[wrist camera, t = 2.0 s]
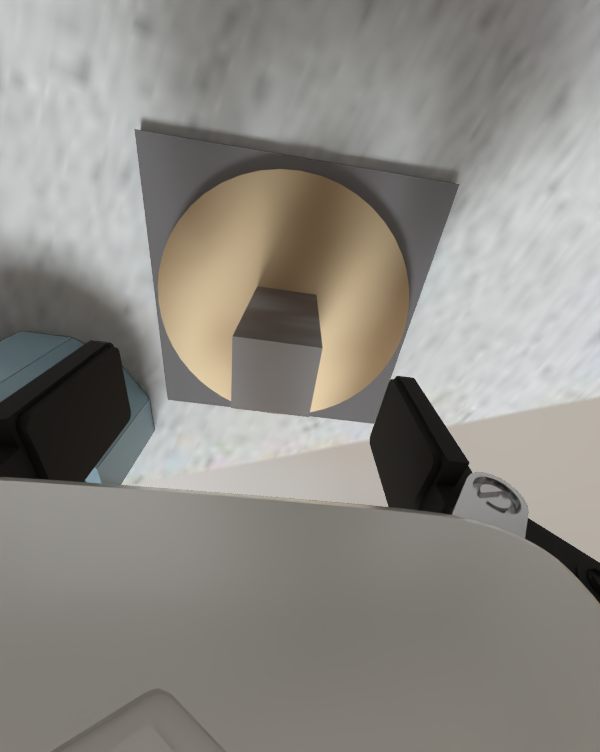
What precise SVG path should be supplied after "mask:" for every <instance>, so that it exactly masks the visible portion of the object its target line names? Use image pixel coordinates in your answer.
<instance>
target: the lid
mask: <svg viewBox="0 0 600 752" xmlns="http://www.w3.org/2000/svg"><path fill="white" fill-rule="evenodd" d="M158 302H159V307H160V312H161V318H162V321H163V324H164V327H165V330H166V333H167V335H168V337H169V339H170V341H171V344H172V346H173V347H174V349H175V351H176V352H177V354H178V356H179V357H180V359H181V360H182V361H183V363H184V364H185V365H186V366H187V368H188V369H189V370H190V371H191V372H192V373H193V374H194V375H195V376H196V377H197V378H198V379H199V380H200V381H201V382H202V383H204V384H205V385H206V386H207V387H208V388H210V389H211V390H213V391H214V392H216V393H217V394H219V395H220V396H222V397H224V398H226V399H228V400H230V401H231V408H236V409H245V410H253V411H261V412H267V413H273V414H288V415H297V416H305V417H309V414H310V412H314V411H318V410H322V409H326V408H328V407H331V406H334V405H337V404H339V403H341V402H343V401H345V400H347V399H349V398H351V397H352V396H354V395H355V394H357V393H358V392H360V391H361V390H363V389H364V388H365V387H366V386H367V385H369V384H370V383H371V382H372V381H373V380H374V379H375V378H376V377H377V376H378V375H379V374H380V373H381V372H382V370H383V369H384V368H385V366H386V365H387V364H388V363H389V361H390V360H391V358H392V356H393V354H394V353H395V351H396V349H397V347H398V345H399V342H400V340H401V338H402V335H403V332H404V329H405V325H406V321H407V316H408V308H409V283H408V276H407V270H406V266H405V263H404V259H403V256H402V253H401V251H400V249H399V246H398V244H397V242H396V240H395V237H394V236H393V234H392V233H391V231H390V230H389V228H388V226H387V225H386V223H385V222H384V221H383V219H382V218H381V217H380V216H379V215H378V214H377V213H376V211H375V210H374V209H373V208H372V207H371V206H370V205H369V204H368V203H366V202H365V201H364V200H363V199H362V198H361V197H359V196H358V195H357V194H355V193H354V192H352V191H351V190H349V189H347V188H346V187H344V186H343V185H341V184H339V183H337V182H334V181H332V180H330V179H327V178H325V177H323V176H320V175H316V174H312V173H308V172H304V171H298V170H287V169H273V170H260V171H255V172H251V173H247V174H243V175H239V176H237V177H234V178H232V179H230V180H227V181H225V182H222V183H221V184H219V185H217V186H216V187H214V188H213V189H211V190H209V191H208V192H206V193H205V194H204V195H202V196H201V197H200V198H199V199H198V200H197V201H196V202H194V203H193V204H192V205H191V206H190V207H189V208H188V210H187V211H186V212H185V213H184V215H183V216H182V217H181V218H180V219H179V221H178V222H177V224H176V226H175V227H174V229H173V231H172V233H171V234H170V236H169V239H168V241H167V244H166V246H165V249H164V251H163V255H162V259H161V263H160V267H159V276H158Z"/></svg>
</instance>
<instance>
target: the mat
mask: <svg viewBox="0 0 600 752" xmlns="http://www.w3.org/2000/svg"><path fill="white" fill-rule="evenodd" d="M135 136H136V144H137V152H138V161H139V169H140V177H141V185H142V193H143V201H144V209H145V217H146V225H147V234H148V242H149V250H150V258H151V266H152V274H153V282H154V290H155V298H156V307H157V315H158V323H159V331H160V339H161V347H162V355H163V363H164V371H165V380H166V388H167V396H168V400H175V401H184V402H193V403H201V404H210V405H218V406H227V407H231V401H230V400H228V399H226V398H224V397H222V396H220V395H219V394H217V393H216V392H214V391H213V390H211V389H210V388H208V387H207V386H206V385H205V384H204V383H202V382H201V381H200V380H199V379H198V378H197V377H196V376H195V375H194V374H193V373H192V372H191V371H190V370H189V369H188V368H187V366H186V365H185V364H184V363H183V361H182V360H181V359H180V357H179V356H178V354H177V352H176V351H175V349H174V347H173V346H172V344H171V341H170V339H169V337H168V335H167V333H166V330H165V327H164V324H163V321H162V318H161V312H160V307H159V302H158V276H159V267H160V263H161V259H162V255H163V251H164V249H165V246H166V244H167V241H168V239H169V236H170V234H171V233H172V231H173V229H174V227H175V226H176V224H177V222H178V221H179V219H180V218H181V217H182V216H183V215H184V213H185V212H186V211H187V210H188V208H189V207H190V206H191V205H192V204H193V203H194V202H196V201H197V200H198V199H199V198H200V197H201V196H202V195H204V194H205V193H206V192H208V191H209V190H211V189H213V188H214V187H216V186H217V185H219V184H221V183H222V182H225V181H227V180H230V179H232V178H234V177H237V176H239V175H243V174H247V173H251V172H255V171H260V170H273V169H287V170H298V171H304V172H308V173H312V174H316V175H320V176H323V177H325V178H327V179H330V180H332V181H334V182H337V183H339V184H341V185H343V186H344V187H346V188H347V189H349V190H351V191H352V192H354V193H355V194H357V195H358V196H359V197H361V198H362V199H363V200H364V201H365V202H366V203H368V204H369V205H370V206H371V207H372V208H373V209H374V210H375V211H376V213H377V214H378V215H379V216H380V217H381V218H382V219H383V221H384V222H385V223H386V225H387V226H388V228H389V230H390V231H391V233H392V234H393V236H394V237H395V240H396V242H397V244H398V246H399V249H400V251H401V253H402V256H403V259H404V263H405V266H406V270H407V276H408V283H409V308H408V316H407V321H406V325H405V329H404V332H403V335H402V338H401V340H400V342H399V345H398V347H397V349H396V351H395V353H394V354H393V356H392V358H391V360H390V361H389V363H388V364H387V365H386V366H385V368H384V369H383V370H382V372H381V373H380V374H379V375H378V376H377V377H376V378H375V379H374V380H373V381H372V382H371V383H370V384H369V385H367V386H366V387H365V388H364V389H363V390H361V391H360V392H358V393H357V394H355V395H354V396H352V397H351V398H349V399H347V400H345V401H343V402H341V403H339V404H337V405H334V406H331V407H328V408H326V409H322V410H318V411H314V412H310V414H309V416H313V417H322V418H330V419H339V420H348V421H356V422H365V423H373V424H374V423H375V420H376V417H377V415H378V412H379V409H380V406H381V403H382V401H383V398H384V395H385V392H386V389H387V386H388V383H389V381H390V378H391V375H392V372H393V370H394V367H395V364H396V361H397V358H398V356H399V353H400V350H401V347H402V344H403V342H404V339H405V336H406V333H407V330H408V327H409V325H410V322H411V319H412V316H413V313H414V311H415V308H416V305H417V302H418V299H419V297H420V294H421V291H422V288H423V285H424V282H425V280H426V277H427V274H428V271H429V268H430V266H431V263H432V260H433V257H434V254H435V252H436V249H437V246H438V243H439V240H440V237H441V235H442V232H443V229H444V226H445V223H446V221H447V218H448V215H449V212H450V209H451V207H452V204H453V201H454V198H455V195H456V192H457V190H458V187H459V184H455V183H449V182H443V181H437V180H431V179H425V178H419V177H414V176H408V175H402V174H396V173H390V172H384V171H378V170H372V169H366V168H360V167H354V166H349V165H343V164H337V163H331V162H325V161H319V160H313V159H307V158H301V157H295V156H289V155H284V154H278V153H272V152H266V151H260V150H254V149H248V148H242V147H236V146H230V145H225V144H219V143H213V142H207V141H201V140H195V139H189V138H183V137H177V136H171V135H165V134H160V133H154V132H148V131H142V130H136V129H135Z"/></svg>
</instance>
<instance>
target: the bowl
mask: <svg viewBox="0 0 600 752" xmlns="http://www.w3.org/2000/svg"><path fill="white" fill-rule="evenodd" d="M83 345H84V344H83V343H81V342H79V341H78V340H76V339H74V338H72V337H64V336H56V335H48V334H40V333H32V332H24V331H20V332H18V333H16V334H14V335H12V336H9V337H7V338H5V339H3V340H1V341H0V402H1V401H3V400H4V399H6V398H7V397H9V396H10V395H12V394H13V393H14V392H16V391H17V390H19V389H20V388H22V387H23V386H25V385H26V384H28V383H29V382H30V381H32V380H33V379H35V378H36V377H38V376H39V375H41V374H42V373H44V372H45V371H46V370H48V369H49V368H51V367H52V366H54V365H55V364H57V363H58V362H60V361H61V360H62V359H64V358H65V357H67V356H68V355H70V354H71V353H73V352H74V351H76V350H77V349H78V348H80V347H81V346H83ZM122 368H123V367H122ZM123 373H124V378H125V383H126V389H127V394H128V399H129V404H130V409H131V417H130V420H129V422H128V424H127V425H126V426H125V428H124V429H123V430H122V432H121V433H120V434H119V436H118V437H117V438H116V440H115V441H114V442H113V444H112V445H111V446H110V447H109V449H108V450H107V451H106V453H105V454H104V455H103V457H102V458H101V459H100V461H99V462H98V463H97V465H96V466H95V467H94V469H93V470H92V471H91V473H90V474H89V475H88V477H87V478H86V479H85V481H84V482H87V483H101V484H114V485H121V483H122V482H123V480H124V479H125V477H126V475H127V474H128V472H129V471H130V469H131V468H132V466H133V464H134V463H135V461H136V460H137V458H138V456H139V455H140V453H141V452H142V450H143V448H144V447H145V445H146V444H147V442H148V440H149V439H150V437H151V436H152V434H153V432H154V425H153V419H152V413H151V406H150V400H149V398H148V397H147V396H146V394H145V393H144V392H143V391H142V390H141V388H140V387H139V386H138V385H137V383H136V382H135V381H134V380H133V379H132V377H131V376H130V375H129V374H128V373H127V371H126V370H125V369H124V368H123Z"/></svg>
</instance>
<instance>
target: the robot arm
mask: <svg viewBox="0 0 600 752" xmlns="http://www.w3.org/2000/svg"><path fill="white" fill-rule="evenodd" d="M130 417H131V409H130V404H129V399H128V394H127V389H126V383H125V378H124V373H123V368H122V363H121V358H120V353H119V350H118V349H117V348H115V347H114V346H113V344H111V343H109V342H100V341H89V342H87V343H86V344H84V345H83V346H81V347H80V348H78V349H77V350H76V351H74V352H73V353H71V354H70V355H68V356H67V357H65V358H64V359H62V360H61V361H60V362H58V363H57V364H55V365H54V366H52V367H51V368H49V369H48V370H46V371H45V372H44V373H42V374H41V375H39V376H38V377H36V378H35V379H33V380H32V381H30V382H29V383H28V384H26V385H25V386H23V387H22V388H20V389H19V390H17V391H16V392H14V393H13V394H12V395H10V396H9V397H7V398H6V399H4V400H3V401H1V402H0V752H600V563H599V562H598V561H596V560H594V559H593V558H591V557H590V556H588V555H586V554H585V553H583V552H581V551H580V550H578V549H577V548H575V547H574V546H572V545H570V544H569V543H567V542H566V541H564V540H562V539H561V538H559V537H557V536H556V535H554V534H553V533H551V532H550V531H548V530H546V529H545V528H543V527H542V526H540V525H538V524H537V523H535V522H534V521H532V520H530V519H529V518H528V506H527V504H526V502H525V500H524V498H523V497H522V496H521V494H520V493H519V492H518V491H517V490H516V489H515V488H514V487H512V486H511V485H510V484H509V483H507V482H505V481H504V480H502V479H501V478H498V477H496V476H494V475H491V474H488V473H483V472H475V473H472V471H471V470H470V468H469V466H468V465H469V461H468V460H467V458H466V457H465V455H464V454H463V453H462V451H461V449H460V448H459V446H458V445H457V443H456V441H455V440H454V438H453V437H452V435H451V434H450V432H449V431H448V429H447V428H446V426H445V425H444V423H443V422H442V420H441V419H440V417H439V415H438V414H437V412H436V411H435V409H434V408H433V406H432V405H431V403H430V402H429V400H428V399H427V397H426V396H425V394H424V393H423V391H422V390H421V388H420V386H419V385H418V383H417V382H416V380H415V379H414V378H410V377H402V376H397V377H395V379H394V380H393V379H391V380H390V381H389V383H388V386H387V389H386V392H385V395H384V398H383V401H382V404H381V406H380V409H379V412H378V415H377V418H376V421H375V424H374V427H373V430H372V433H371V436H370V446H371V449H372V453H373V456H374V460H375V463H376V466H377V469H378V473H379V476H380V479H381V483H382V486H383V490H384V493H385V496H386V500H387V503H388V506H389V507H382V506H372V505H371V506H370V505H361V504H350V503H338V502H327V501H314V500H303V499H291V498H279V497H268V496H254V495H243V494H230V493H218V492H206V491H193V490H180V489H167V488H154V487H141V486H128V485H114V484H101V483H87V482H84V481H85V479H86V478H87V477H88V475H89V474H90V473H91V471H92V470H93V469H94V467H95V466H96V465H97V463H98V462H99V461H100V459H101V458H102V457H103V455H104V454H105V453H106V451H107V450H108V449H109V447H110V446H111V445H112V444H113V442H114V441H115V440H116V438H117V437H118V436H119V434H120V433H121V432H122V430H123V429H124V428H125V426H126V425H127V424H128V422H129V420H130Z"/></svg>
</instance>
